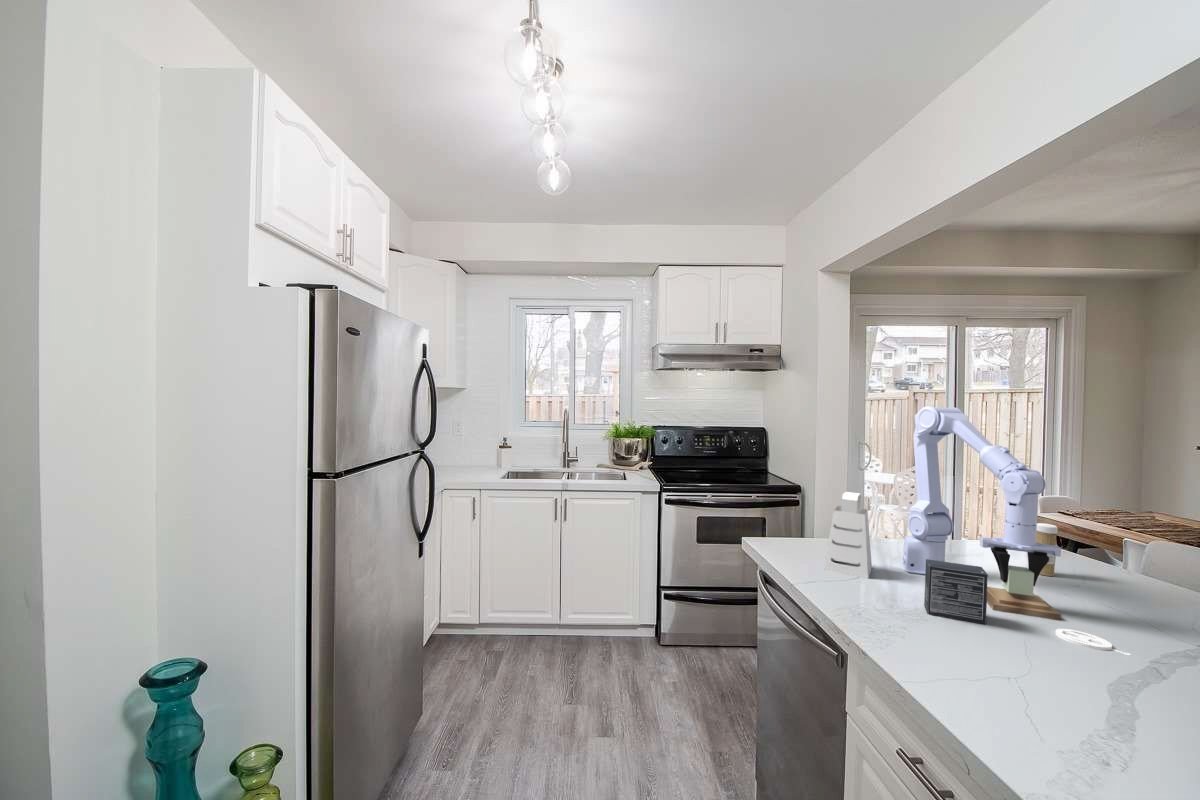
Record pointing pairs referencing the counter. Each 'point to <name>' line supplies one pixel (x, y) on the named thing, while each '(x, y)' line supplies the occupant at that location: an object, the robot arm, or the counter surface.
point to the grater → (849, 538)
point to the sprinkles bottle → (1047, 536)
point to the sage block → (1019, 580)
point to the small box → (956, 591)
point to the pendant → (1085, 639)
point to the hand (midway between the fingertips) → (1017, 582)
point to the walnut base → (1020, 604)
